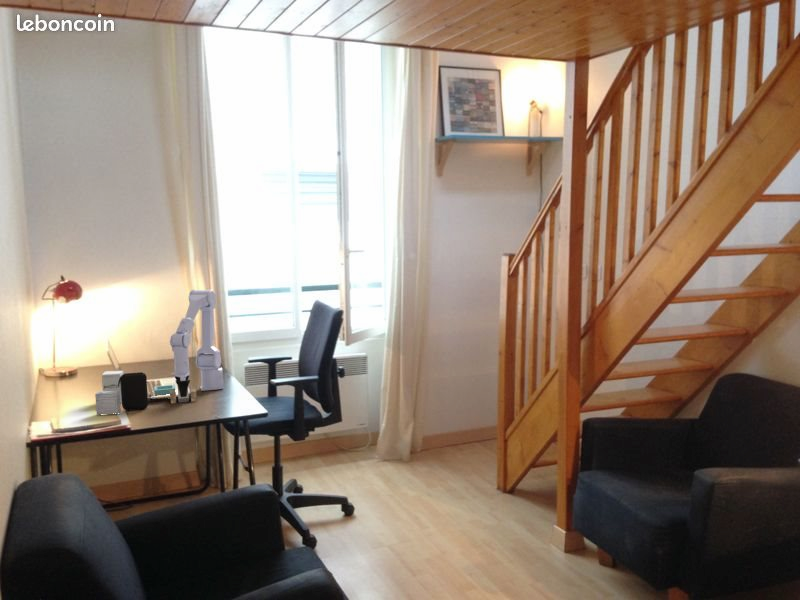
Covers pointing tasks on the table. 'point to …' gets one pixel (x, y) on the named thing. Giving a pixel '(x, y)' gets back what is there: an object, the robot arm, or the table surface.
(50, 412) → the table surface
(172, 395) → the wooden pieces
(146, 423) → the table surface
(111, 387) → the supplement box
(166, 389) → the port
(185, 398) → the plug
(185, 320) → the robot arm
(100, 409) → the medicine box
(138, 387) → the black rounded piece
